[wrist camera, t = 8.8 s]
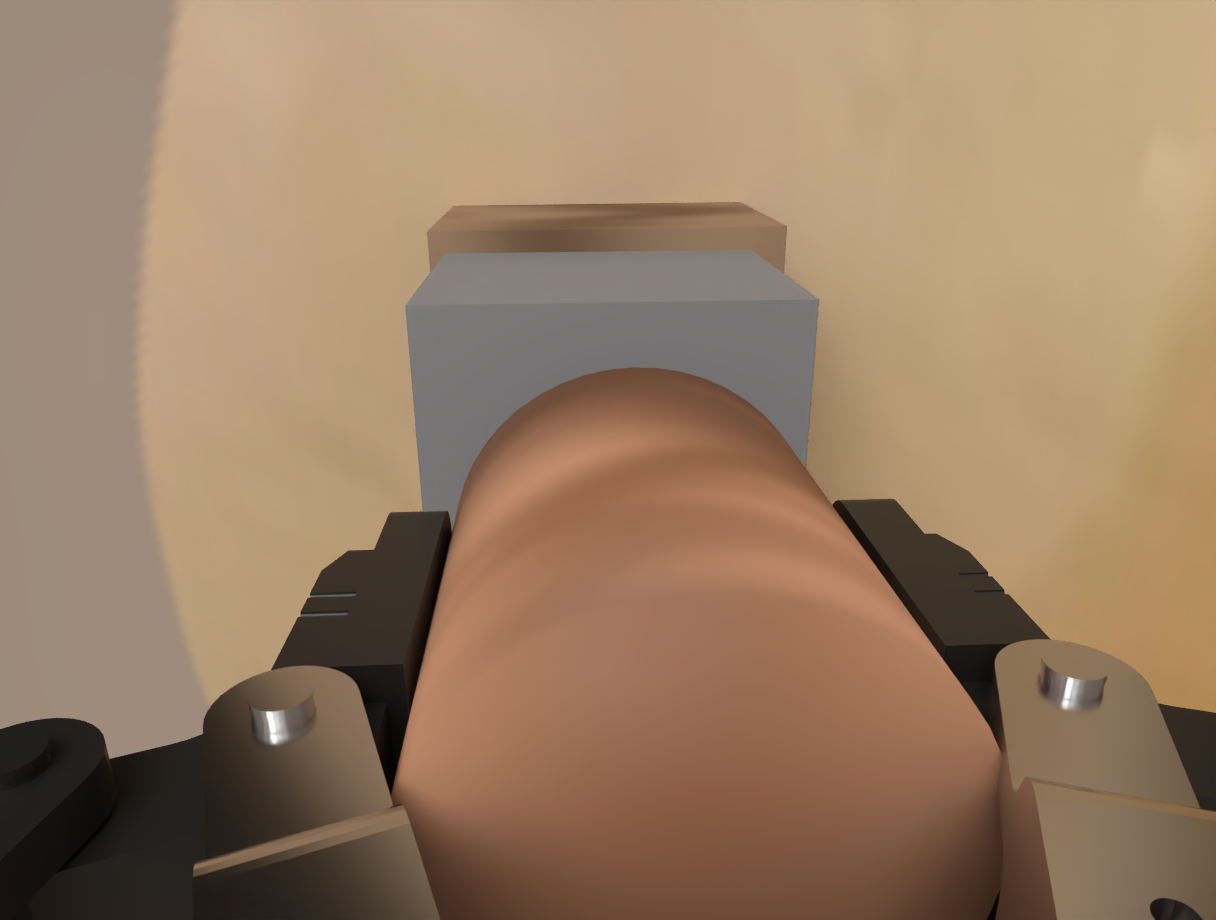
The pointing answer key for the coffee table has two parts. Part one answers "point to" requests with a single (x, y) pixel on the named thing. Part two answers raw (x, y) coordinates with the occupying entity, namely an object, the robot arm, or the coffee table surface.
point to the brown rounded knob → (682, 686)
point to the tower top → (596, 340)
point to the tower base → (607, 229)
